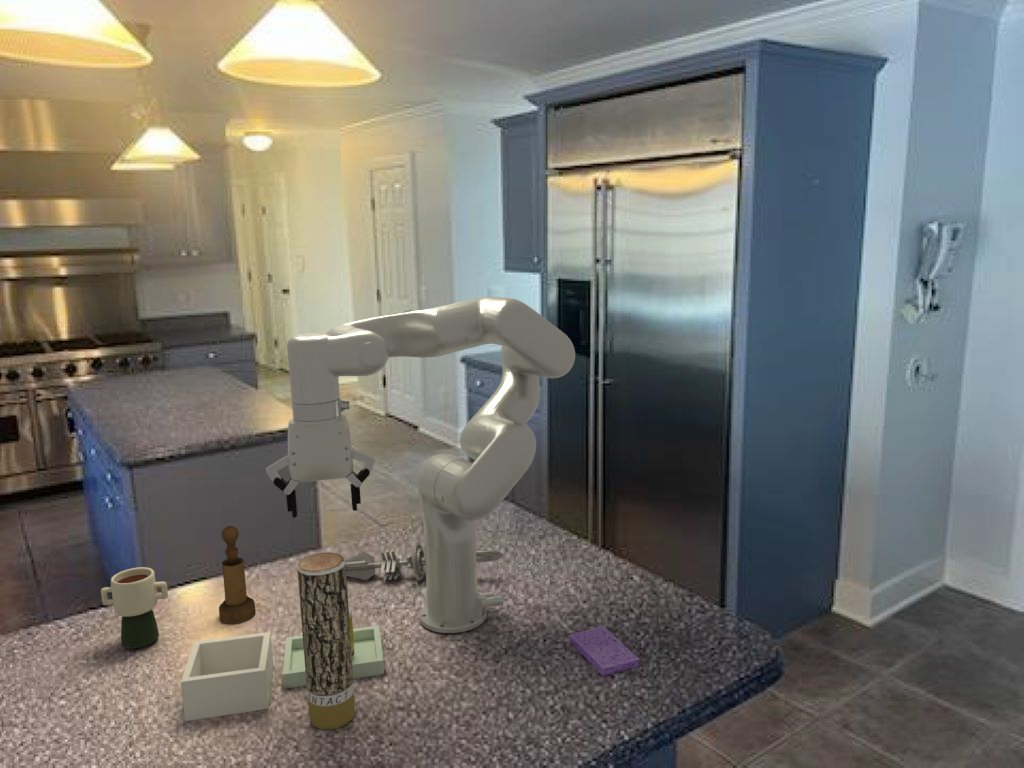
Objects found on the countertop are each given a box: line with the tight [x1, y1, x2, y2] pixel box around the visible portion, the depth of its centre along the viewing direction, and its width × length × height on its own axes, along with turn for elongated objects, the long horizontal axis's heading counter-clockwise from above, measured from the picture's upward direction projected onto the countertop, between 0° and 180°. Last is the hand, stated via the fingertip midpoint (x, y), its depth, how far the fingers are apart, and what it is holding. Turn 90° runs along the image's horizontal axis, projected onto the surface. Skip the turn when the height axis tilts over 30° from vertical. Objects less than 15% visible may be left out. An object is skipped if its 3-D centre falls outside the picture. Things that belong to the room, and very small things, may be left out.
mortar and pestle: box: [218, 525, 256, 625], centre depth 147 cm, size 7×6×18 cm
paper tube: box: [296, 552, 356, 730], centre depth 114 cm, size 7×7×25 cm
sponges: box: [568, 625, 640, 676], centre depth 133 cm, size 7×13×2 cm, turn 22°
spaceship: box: [345, 542, 503, 582], centre depth 162 cm, size 8×35×8 cm
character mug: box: [100, 566, 169, 650], centre depth 138 cm, size 11×7×13 cm, turn 102°
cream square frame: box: [180, 631, 275, 722], centre depth 123 cm, size 12×12×6 cm
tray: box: [282, 625, 385, 690], centre depth 131 cm, size 16×12×2 cm
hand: (325, 511), depth 128 cm, fingers open, 9 cm apart
